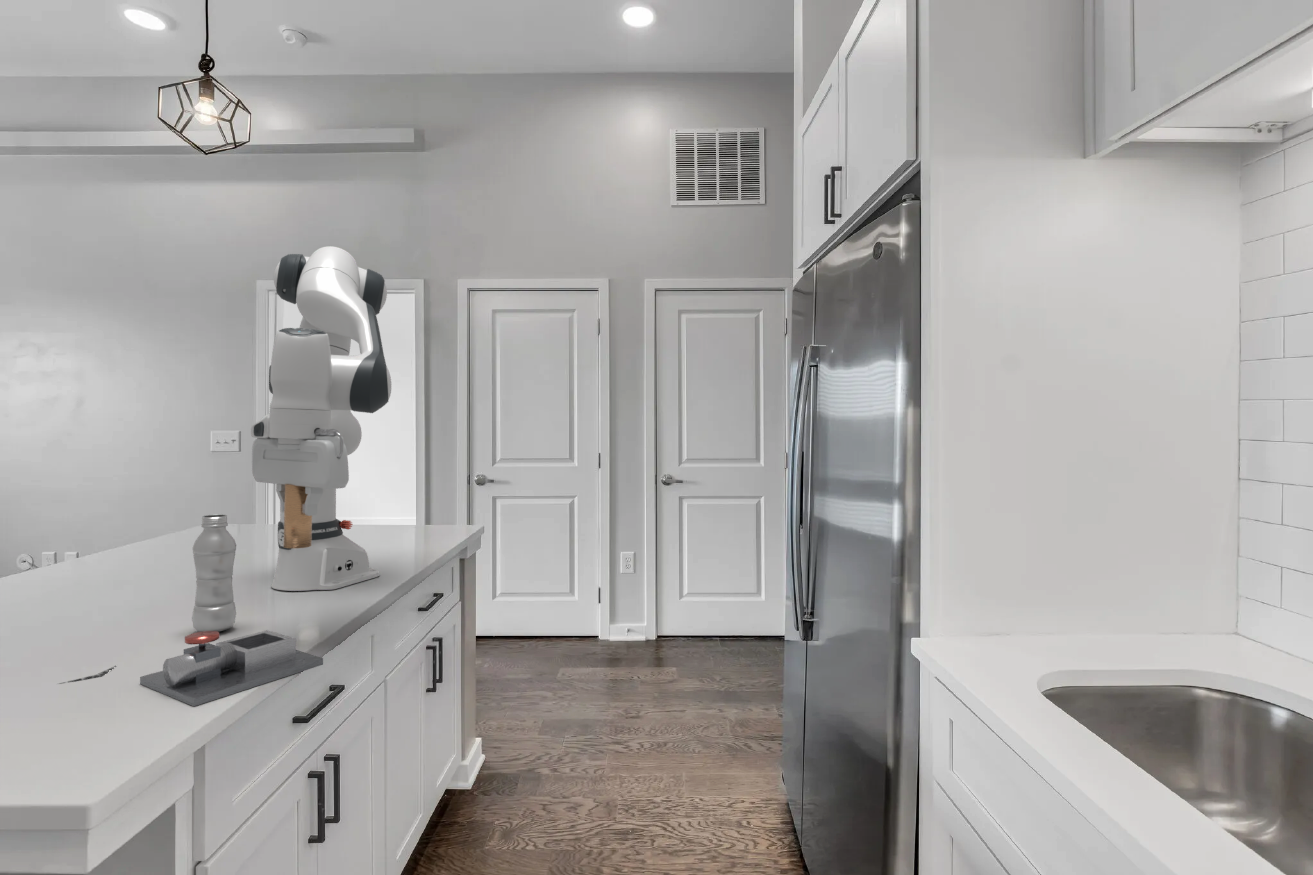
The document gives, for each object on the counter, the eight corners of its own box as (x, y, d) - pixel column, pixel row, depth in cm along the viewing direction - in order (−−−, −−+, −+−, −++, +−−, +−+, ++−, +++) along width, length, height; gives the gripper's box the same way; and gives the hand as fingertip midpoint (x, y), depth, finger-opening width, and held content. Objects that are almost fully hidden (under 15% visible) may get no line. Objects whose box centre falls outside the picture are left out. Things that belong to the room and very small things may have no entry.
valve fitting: (268, 647, 110) (268, 605, 110) (323, 664, 103) (323, 619, 103) (140, 683, 95) (140, 635, 95) (193, 706, 88) (193, 653, 88)
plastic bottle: (230, 623, 123) (231, 512, 123) (241, 631, 118) (241, 516, 118) (188, 630, 118) (188, 515, 118) (196, 639, 114) (196, 519, 113)
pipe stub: (301, 543, 113) (302, 482, 113) (316, 545, 111) (318, 484, 111) (278, 546, 110) (279, 484, 110) (293, 549, 108) (294, 485, 108)
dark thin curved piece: (50, 691, 91) (25, 687, 93) (51, 696, 91) (26, 693, 93) (148, 659, 103) (124, 657, 105) (148, 664, 103) (124, 662, 105)
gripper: (360, 429, 108) (358, 517, 108) (281, 427, 118) (280, 507, 118) (323, 429, 103) (321, 521, 103) (244, 426, 113) (242, 510, 113)
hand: (298, 513), depth 110 cm, fingers closed on pipe stub, 4 cm apart
